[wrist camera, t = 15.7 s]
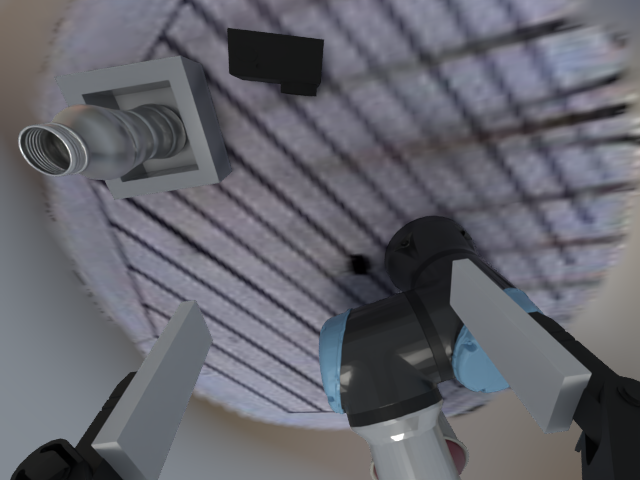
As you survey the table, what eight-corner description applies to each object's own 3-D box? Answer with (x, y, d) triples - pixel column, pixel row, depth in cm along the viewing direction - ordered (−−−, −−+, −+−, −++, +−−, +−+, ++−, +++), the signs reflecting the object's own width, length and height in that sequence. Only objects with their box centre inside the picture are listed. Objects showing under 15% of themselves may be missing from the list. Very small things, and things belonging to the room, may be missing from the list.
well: (232, 171, 42) (219, 182, 36) (142, 185, 43) (114, 199, 36) (201, 64, 36) (179, 55, 30) (97, 82, 36) (54, 77, 30)
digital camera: (241, 89, 38) (228, 86, 31) (240, 41, 35) (225, 27, 29) (317, 97, 39) (319, 95, 32) (320, 51, 36) (324, 39, 30)
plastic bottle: (177, 97, 37) (55, 88, 19) (199, 149, 40) (111, 184, 22) (132, 110, 37) (-30, 114, 19) (157, 161, 40) (36, 204, 22)
